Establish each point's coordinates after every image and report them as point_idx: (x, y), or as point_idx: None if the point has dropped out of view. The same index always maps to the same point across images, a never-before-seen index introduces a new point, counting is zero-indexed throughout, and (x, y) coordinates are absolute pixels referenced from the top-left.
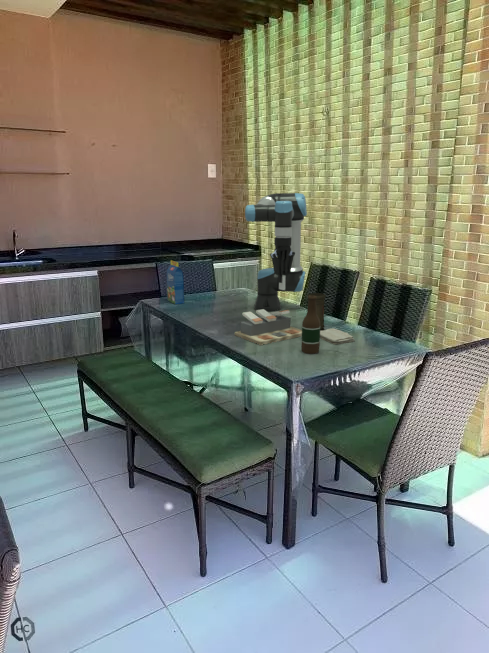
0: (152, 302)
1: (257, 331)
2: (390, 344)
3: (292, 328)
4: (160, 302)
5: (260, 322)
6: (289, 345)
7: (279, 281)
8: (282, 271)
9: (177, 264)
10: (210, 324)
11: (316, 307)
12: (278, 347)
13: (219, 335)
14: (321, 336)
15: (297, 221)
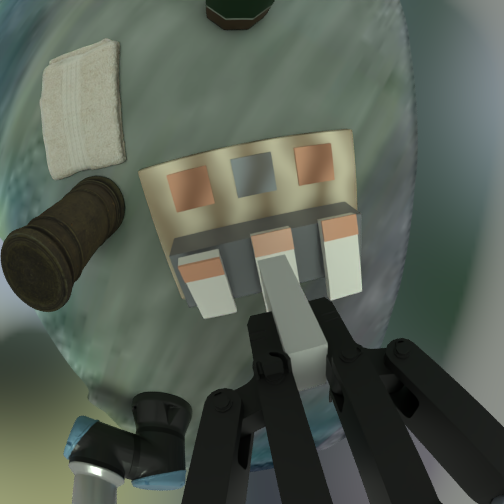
0: (331, 441)
1: (323, 210)
2: (6, 35)
3: (170, 229)
4: (322, 441)
5: (328, 217)
6: (264, 83)
7: (332, 310)
8: (355, 387)
9: None
10: None
11: (63, 214)
12: (308, 83)
13: (381, 265)
14: (117, 111)
15: None
